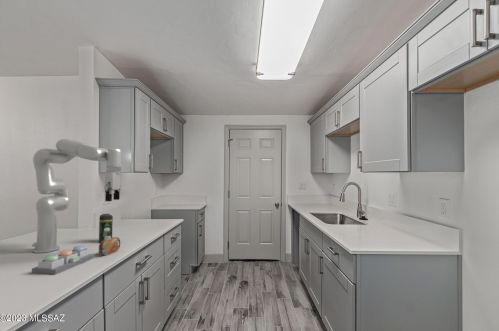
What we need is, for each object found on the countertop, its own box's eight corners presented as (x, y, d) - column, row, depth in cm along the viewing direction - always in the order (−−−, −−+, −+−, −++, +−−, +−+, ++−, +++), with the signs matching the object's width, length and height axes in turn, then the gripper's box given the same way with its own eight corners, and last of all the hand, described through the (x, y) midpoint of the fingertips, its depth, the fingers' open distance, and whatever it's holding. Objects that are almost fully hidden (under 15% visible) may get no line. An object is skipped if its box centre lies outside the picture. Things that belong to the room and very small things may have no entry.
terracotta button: (57, 258, 132) (57, 252, 132) (65, 256, 137) (65, 249, 137) (66, 259, 131) (66, 253, 131) (74, 256, 136) (74, 250, 136)
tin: (102, 257, 147) (102, 241, 147) (97, 257, 148) (97, 241, 148) (120, 250, 162) (121, 235, 162) (116, 249, 162) (116, 235, 163)
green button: (41, 264, 123) (42, 257, 124) (51, 261, 128) (51, 254, 128) (51, 265, 123) (51, 258, 123) (60, 261, 128) (60, 255, 128)
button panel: (55, 274, 121) (56, 263, 121) (31, 273, 122) (32, 261, 122) (94, 257, 145) (94, 248, 146) (74, 256, 147) (74, 247, 147)
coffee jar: (98, 240, 184) (98, 213, 185) (111, 239, 188) (111, 212, 189) (99, 243, 176) (100, 215, 177) (112, 242, 180) (113, 214, 181)
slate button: (70, 254, 140) (71, 248, 140) (78, 251, 145) (78, 245, 145) (79, 254, 140) (79, 248, 140) (86, 251, 145) (86, 246, 145)
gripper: (113, 170, 162) (112, 199, 162) (99, 169, 145) (97, 201, 144) (126, 170, 163) (125, 199, 162) (113, 169, 145) (112, 201, 145)
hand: (112, 200), depth 153 cm, fingers open, 9 cm apart
